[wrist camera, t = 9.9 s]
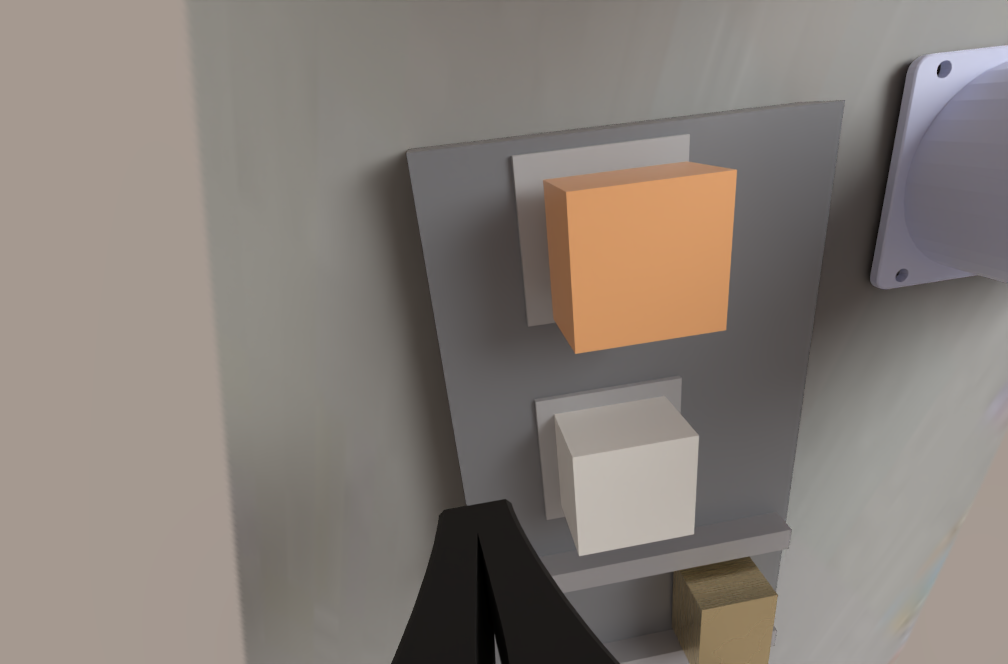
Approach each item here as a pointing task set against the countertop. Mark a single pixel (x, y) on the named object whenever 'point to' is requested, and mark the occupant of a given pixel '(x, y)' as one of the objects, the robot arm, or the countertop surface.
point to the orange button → (640, 253)
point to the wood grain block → (724, 613)
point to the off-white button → (626, 474)
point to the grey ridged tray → (635, 368)
